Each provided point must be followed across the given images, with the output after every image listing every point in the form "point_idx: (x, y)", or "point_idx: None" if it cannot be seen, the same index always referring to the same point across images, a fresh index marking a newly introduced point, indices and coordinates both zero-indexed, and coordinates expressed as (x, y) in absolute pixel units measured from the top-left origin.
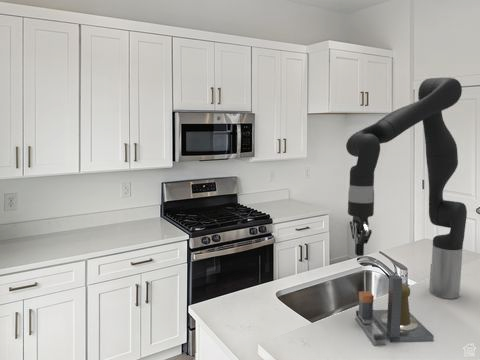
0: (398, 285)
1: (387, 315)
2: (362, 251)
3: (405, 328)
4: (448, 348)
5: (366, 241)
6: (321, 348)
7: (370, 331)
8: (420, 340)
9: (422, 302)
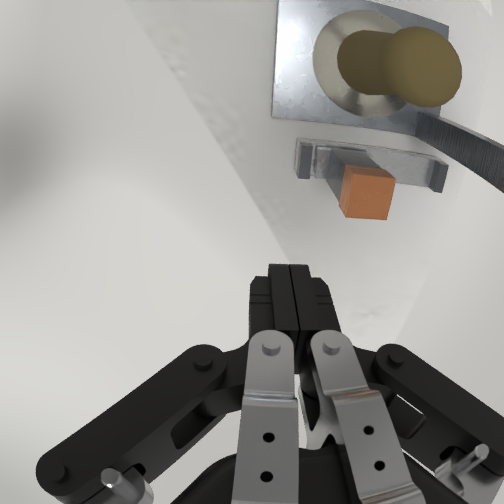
0: None
1: (330, 78)
2: (328, 299)
3: None
4: (469, 21)
5: (421, 372)
6: (400, 289)
7: (400, 177)
8: None
9: None
